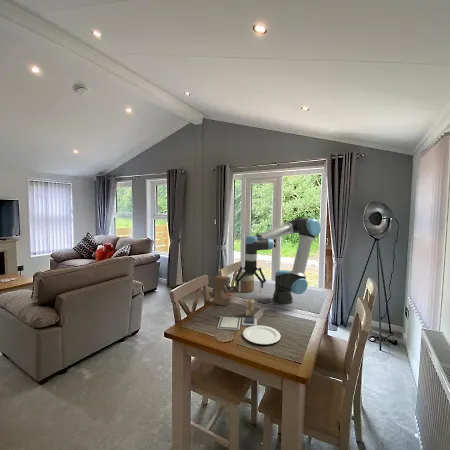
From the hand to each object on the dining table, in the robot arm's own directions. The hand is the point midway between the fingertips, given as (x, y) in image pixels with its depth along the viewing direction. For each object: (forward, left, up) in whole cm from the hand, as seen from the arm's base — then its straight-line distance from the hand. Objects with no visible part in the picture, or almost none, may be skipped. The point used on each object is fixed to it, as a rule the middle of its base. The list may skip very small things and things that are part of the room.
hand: (249, 292), depth 171 cm
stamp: (0, 0, -16) cm, 16 cm away
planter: (+6, -52, -16) cm, 55 cm away
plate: (-7, +26, -17) cm, 32 cm away
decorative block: (+21, -18, -16) cm, 32 cm away
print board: (+12, +13, -16) cm, 24 cm away
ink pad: (0, +10, -16) cm, 19 cm away
